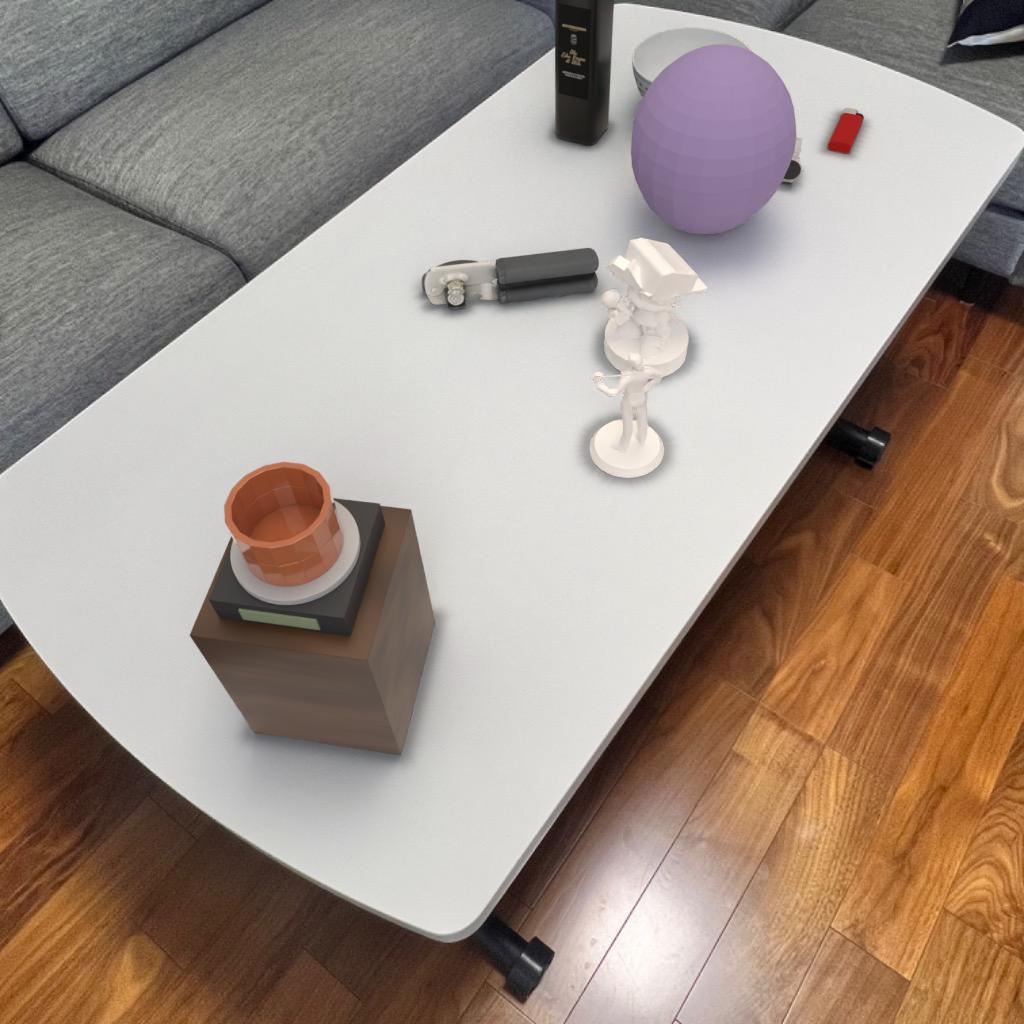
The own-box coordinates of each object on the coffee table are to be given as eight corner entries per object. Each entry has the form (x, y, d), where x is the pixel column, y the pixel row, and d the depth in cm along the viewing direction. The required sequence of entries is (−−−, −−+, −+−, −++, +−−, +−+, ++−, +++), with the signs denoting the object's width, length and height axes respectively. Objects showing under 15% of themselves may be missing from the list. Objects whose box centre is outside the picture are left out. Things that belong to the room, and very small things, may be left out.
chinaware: (621, 88, 126) (624, 31, 120) (732, 81, 126) (741, 23, 120) (636, 153, 117) (641, 95, 111) (755, 145, 117) (767, 86, 111)
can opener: (423, 317, 101) (418, 280, 97) (422, 278, 105) (417, 241, 101) (600, 302, 101) (602, 265, 97) (592, 264, 105) (594, 227, 101)
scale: (350, 638, 60) (341, 615, 58) (218, 620, 61) (204, 596, 59) (385, 523, 65) (378, 498, 63) (263, 508, 66) (252, 482, 64)
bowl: (327, 593, 59) (312, 553, 55) (230, 580, 59) (208, 540, 56) (355, 510, 62) (342, 468, 59) (263, 499, 63) (244, 456, 60)
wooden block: (401, 755, 72) (367, 660, 59) (253, 732, 74) (189, 635, 61) (435, 620, 79) (411, 509, 66) (299, 602, 80) (250, 489, 67)
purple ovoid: (681, 162, 116) (701, -5, 99) (803, 215, 109) (846, 44, 92) (595, 231, 108) (602, 63, 92) (721, 293, 101) (751, 122, 85)
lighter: (828, 140, 115) (844, 106, 119) (826, 149, 116) (841, 115, 120) (851, 145, 114) (866, 110, 118) (849, 154, 115) (863, 120, 119)
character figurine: (589, 336, 98) (592, 242, 88) (666, 306, 100) (678, 212, 91) (631, 390, 93) (639, 297, 84) (711, 357, 96) (729, 263, 86)
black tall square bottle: (592, 148, 118) (601, -121, 94) (552, 138, 120) (550, -130, 95) (611, 125, 121) (624, -143, 97) (571, 115, 123) (574, -150, 98)
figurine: (642, 411, 92) (652, 319, 82) (677, 462, 88) (692, 372, 78) (576, 434, 90) (578, 343, 81) (609, 487, 86) (615, 399, 77)
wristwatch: (773, 188, 112) (781, 151, 108) (778, 164, 114) (786, 127, 110) (798, 192, 111) (807, 154, 107) (802, 167, 114) (811, 130, 110)
